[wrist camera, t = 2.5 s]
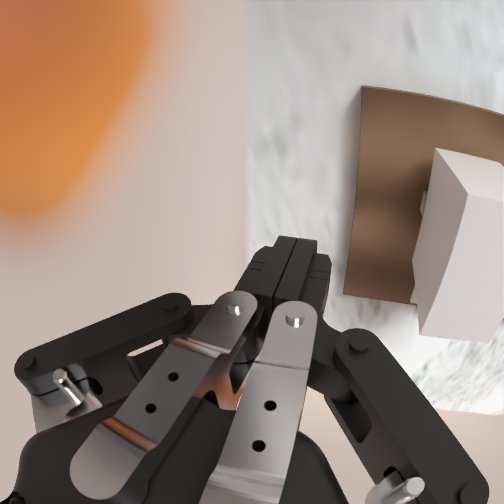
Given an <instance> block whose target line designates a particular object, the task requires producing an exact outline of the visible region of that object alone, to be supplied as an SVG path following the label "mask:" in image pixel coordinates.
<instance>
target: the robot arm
mask: <svg viewBox="0 0 504 504" xmlns="http://www.w3.org/2000/svg"><path fill="white" fill-rule="evenodd" d="M331 266H332V263H331V261H330V258H329V256H328V255H325V254H318V253H317V240H310V239H303V238H295V237H287V236H279V237H278V239H277V241H276V242H275V244H274V246H273V247H268V246H264V247H263V248H261V249H260V250H258V251H257V252H256V253H255V254H254V256H253V258H252V260H251V262H250V263H249V265H248V267H247V269H246V270H245V272H244V273H243V275H242V277H241V279H240V280H239V282H238V284H237V286H236V287H235V289H234V291H231V292H227V293H225V294H223V295H221V296H220V297H219V298H218V299H217V300H216V301H215V303H214V304H212V305H191V301H190V299H189V298H188V297H187V296H186V295H184V294H181V293H169V294H165V295H163V296H160V297H158V298H156V299H153V300H150V301H148V302H146V303H143V304H141V305H138V306H136V307H134V308H131V309H129V310H126V311H124V312H121V313H119V314H116V315H114V316H111V317H109V318H107V319H104V320H102V321H99V322H97V323H95V324H92V325H90V326H87V327H85V328H82V329H80V330H77V331H75V332H72V333H70V334H68V335H65V336H62V337H60V338H58V339H55V340H53V341H50V342H48V343H45V344H43V345H40V346H38V347H35V348H33V349H30V350H28V351H26V352H24V353H23V354H22V355H21V356H20V357H19V358H18V360H17V362H16V364H15V367H14V372H15V375H16V377H17V378H18V379H19V380H20V382H21V383H22V384H23V385H24V386H25V387H26V388H27V390H28V391H29V393H30V394H31V399H32V407H33V414H34V421H35V427H36V433H37V434H35V435H34V436H33V437H32V438H30V439H29V441H28V442H27V443H26V445H25V446H24V448H23V450H22V453H21V456H20V462H19V470H18V475H17V480H16V483H15V486H14V489H13V492H12V493H11V495H10V496H9V497H8V498H7V499H5V500H4V501H2V502H0V504H349V503H348V501H347V499H346V497H345V495H344V493H343V491H342V489H341V487H340V485H339V483H338V481H337V479H336V477H335V475H334V473H333V471H332V469H331V467H330V465H329V463H328V461H327V459H326V457H325V455H324V453H323V452H322V451H321V449H320V448H319V447H318V445H317V444H316V443H314V441H313V440H311V439H310V438H309V437H308V436H306V435H305V434H303V433H302V432H300V431H299V426H300V421H301V415H302V410H303V406H304V401H305V396H306V390H307V386H308V387H310V388H312V389H314V390H316V391H318V392H320V393H322V394H324V399H325V401H326V403H327V405H328V406H329V408H330V410H331V411H332V413H333V415H334V416H335V418H336V420H337V421H338V423H339V425H340V427H341V428H342V430H343V432H344V433H345V435H346V437H347V438H348V440H349V442H350V443H351V445H352V447H353V448H354V450H355V452H356V453H357V455H358V457H359V458H360V460H361V462H362V463H363V465H364V467H365V468H366V470H367V472H368V473H369V475H370V476H371V478H372V480H373V481H374V483H375V486H374V487H373V488H372V489H371V490H370V491H369V493H368V494H367V497H366V500H365V504H487V502H488V498H489V486H488V483H487V481H486V479H485V478H484V476H483V475H482V474H481V472H480V471H479V469H478V468H477V466H476V465H475V464H474V462H473V461H472V459H471V458H470V457H469V455H468V454H467V452H466V451H465V450H464V448H463V447H462V446H461V444H460V443H459V442H458V440H457V439H456V437H455V436H454V435H453V433H452V432H451V431H450V429H449V428H448V426H447V425H446V424H445V423H444V421H443V420H442V419H441V417H440V416H439V414H438V413H437V412H436V411H435V409H434V408H433V407H432V405H431V404H430V403H429V401H428V400H427V399H426V397H425V396H424V395H423V394H422V392H421V391H420V390H419V388H418V387H417V386H416V385H415V383H414V382H413V381H412V380H411V378H410V377H409V376H408V374H407V373H406V372H405V371H404V369H403V368H402V367H401V366H400V364H399V363H398V362H397V361H396V359H395V358H394V357H393V356H392V354H391V353H390V352H389V351H388V349H387V348H386V347H385V346H384V345H383V343H382V342H381V341H380V340H379V338H378V337H377V336H376V335H375V334H373V333H372V332H370V331H368V330H365V329H359V328H354V329H349V330H346V331H344V332H342V333H341V332H339V331H337V330H335V329H333V328H331V327H330V326H329V325H328V324H327V323H326V322H325V321H324V320H323V314H324V309H325V305H326V301H327V296H328V290H329V283H330V275H331ZM160 339H162V342H163V344H161V345H159V346H156V347H154V348H152V349H150V350H147V351H145V352H143V353H140V354H138V355H136V356H127V354H129V353H130V352H132V351H135V350H137V349H139V348H141V347H144V346H146V345H148V344H151V343H153V342H155V341H158V340H160ZM261 350H262V351H261ZM260 352H261V354H260ZM241 395H242V396H241ZM240 396H241V399H240V402H239V405H238V408H237V404H238V401H239V398H240ZM236 408H237V410H236Z"/></svg>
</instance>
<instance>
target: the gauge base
mask: <svg viewBox="0 0 504 504" xmlns="http://www.w3.org/2000/svg"><path fill="white" fill-rule="evenodd" d="M435 148H440V149H445V150H450V151H454V152H459V153H463V154H468V155H472V156H476V157H480V158H484V159H488V160H492V161H495V162H499V163H500V164H501V165H502V166H503V167H504V115H503V114H500V113H497V112H493V111H490V110H487V109H483V108H480V107H476V106H472V105H469V104H465V103H461V102H457V101H452V100H448V99H444V98H439V97H434V96H429V95H424V94H419V93H413V92H407V91H401V90H394V89H387V88H380V87H371V86H362V105H361V131H360V149H359V164H358V177H357V188H356V198H355V208H354V217H353V226H352V234H351V241H350V249H349V256H348V263H347V269H346V276H345V282H344V288H343V294H344V295H351V296H357V297H364V298H371V299H377V300H384V301H391V302H398V303H405V304H412V305H417V297H416V287H415V279H414V271H413V263H412V258H413V255H414V251H415V247H416V243H417V239H418V235H419V231H420V227H421V222H422V218H423V213H424V209H425V204H426V199H427V194H428V188H429V183H430V177H431V171H432V165H433V158H434V151H435Z"/></svg>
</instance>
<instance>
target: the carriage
mask: <svg viewBox="0 0 504 504" xmlns="http://www.w3.org/2000/svg"><path fill="white" fill-rule="evenodd" d="M412 263H413V271H414V279H415V287H416V297H417V308H418V320H419V335H423V336H431V337H439V338H448V339H458V340H468V341H478V342H489V341H490V340H491V338H492V336H493V335H494V333H495V332H496V330H497V328H498V327H499V325H500V323H501V321H502V320H503V318H504V167H503V166H502V165H501V164H500V163H499V162H495V161H492V160H488V159H484V158H480V157H476V156H472V155H468V154H463V153H459V152H454V151H450V150H445V149H440V148H435V151H434V158H433V165H432V171H431V177H430V183H429V188H428V194H427V199H426V204H425V209H424V213H423V218H422V222H421V227H420V231H419V235H418V239H417V243H416V247H415V251H414V255H413V258H412Z"/></svg>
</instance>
